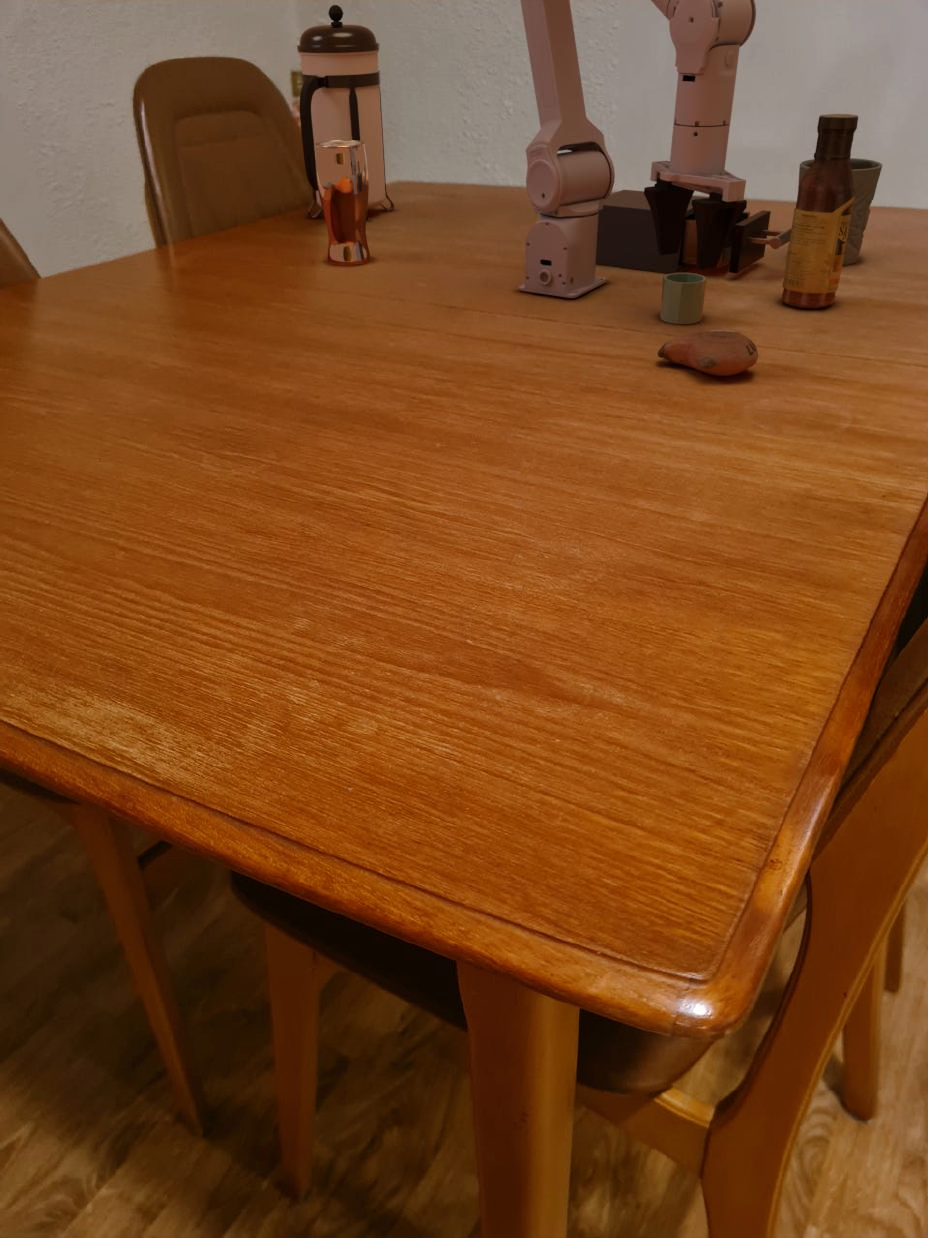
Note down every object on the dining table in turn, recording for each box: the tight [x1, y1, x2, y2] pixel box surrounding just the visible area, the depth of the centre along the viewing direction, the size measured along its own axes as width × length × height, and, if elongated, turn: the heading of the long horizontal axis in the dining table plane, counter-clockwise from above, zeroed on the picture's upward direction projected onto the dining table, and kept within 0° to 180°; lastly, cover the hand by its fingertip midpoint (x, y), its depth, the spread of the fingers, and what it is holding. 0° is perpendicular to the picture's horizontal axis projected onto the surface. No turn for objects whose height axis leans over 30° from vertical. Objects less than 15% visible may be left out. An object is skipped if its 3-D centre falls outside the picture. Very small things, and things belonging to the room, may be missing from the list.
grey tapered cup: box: [797, 157, 883, 266], centre depth 128 cm, size 10×10×12 cm
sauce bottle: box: [781, 113, 859, 309], centre depth 108 cm, size 7×6×20 cm
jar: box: [659, 272, 707, 325], centre depth 108 cm, size 5×5×4 cm
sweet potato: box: [656, 329, 759, 377], centre depth 94 cm, size 9×4×8 cm
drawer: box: [679, 209, 791, 274], centre depth 126 cm, size 17×10×6 cm, turn 57°
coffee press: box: [296, 4, 395, 222], centre depth 153 cm, size 17×16×30 cm
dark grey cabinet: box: [596, 189, 709, 274], centre depth 131 cm, size 14×12×8 cm
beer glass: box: [315, 140, 372, 267], centre depth 131 cm, size 7×7×15 cm
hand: (686, 260), depth 106 cm, fingers open, 7 cm apart
